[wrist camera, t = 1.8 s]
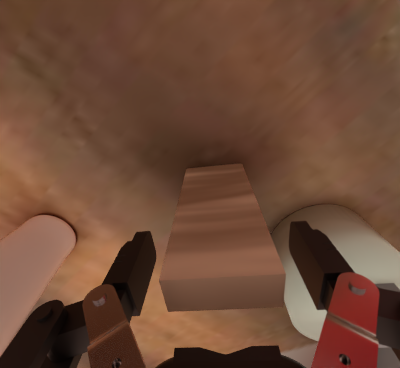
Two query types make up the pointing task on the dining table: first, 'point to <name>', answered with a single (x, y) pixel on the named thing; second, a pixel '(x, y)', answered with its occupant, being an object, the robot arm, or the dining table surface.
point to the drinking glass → (29, 268)
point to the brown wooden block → (220, 246)
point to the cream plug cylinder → (351, 251)
